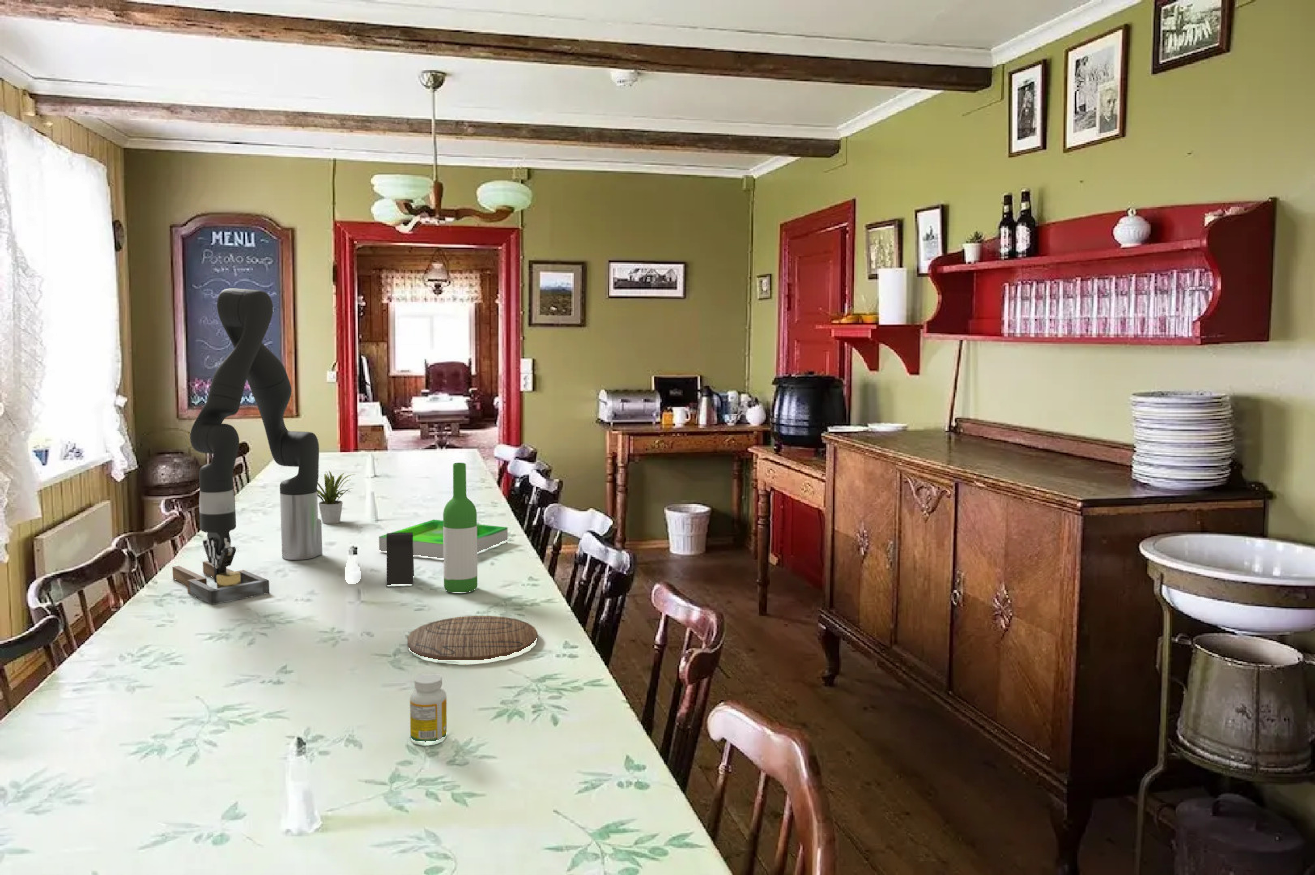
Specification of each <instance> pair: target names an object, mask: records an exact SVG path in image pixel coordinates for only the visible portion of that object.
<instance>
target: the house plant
mask: <svg viewBox="0 0 1315 875" xmlns="http://www.w3.org/2000/svg"><path fill="white" fill-rule="evenodd" d="M328 472H329V473H328ZM328 472H327V471H325V473H324V488H325V489H324V488H323V487H322V486H321V484H320V483H319V482H318V484H317V487H319V488H320V489H321V491H320V490H319V489H318V488H317V498H318V497H319V498H320V499H321V501H319V502H318V509H319V511H320V517H321V524H325V525H332V524H333V525H334V524H339V523H341V519H342V509H343V505H344V504H343V503H344V502H343V501H341V500H340V499H341V497H342V496H343V495H344V494H345V493H346V492H350V493H351V491H350V489H353V487H350V488H348V489H342V487H343V486H344V485H345V483H347V482H348V481H350V479H347V478H348V477H350V476H355V475H356V474H355V473H353V474H349V475H347V476H344V477H343V475H345V472H343V473H341V474H340V475H339V476H338V477H337V479H336V480H335V475H332V472H331V471H330V470H328ZM346 479H347V480H346ZM344 480H346V481H344ZM343 481H344V482H343ZM342 482H343V484H342ZM341 484H342V485H341ZM338 488H339V489H338ZM339 495H340V496H339Z"/></svg>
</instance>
